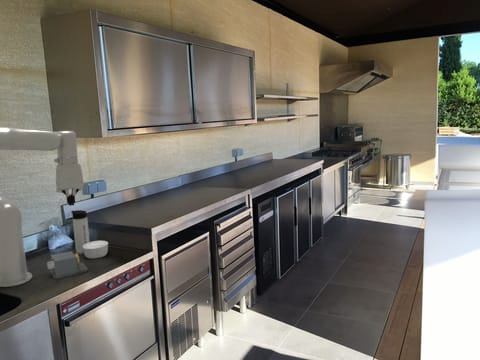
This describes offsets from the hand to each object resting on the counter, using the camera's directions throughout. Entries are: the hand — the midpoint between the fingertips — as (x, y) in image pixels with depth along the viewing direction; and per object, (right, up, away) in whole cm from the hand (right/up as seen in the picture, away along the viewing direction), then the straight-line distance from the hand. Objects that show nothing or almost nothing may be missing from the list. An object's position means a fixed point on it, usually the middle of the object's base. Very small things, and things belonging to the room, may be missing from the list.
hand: (71, 204), depth 172 cm
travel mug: (-3, -24, +21) cm, 31 cm away
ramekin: (+5, -24, +16) cm, 29 cm away
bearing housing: (+1, -27, -3) cm, 27 cm away
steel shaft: (-1, -25, -5) cm, 26 cm away
